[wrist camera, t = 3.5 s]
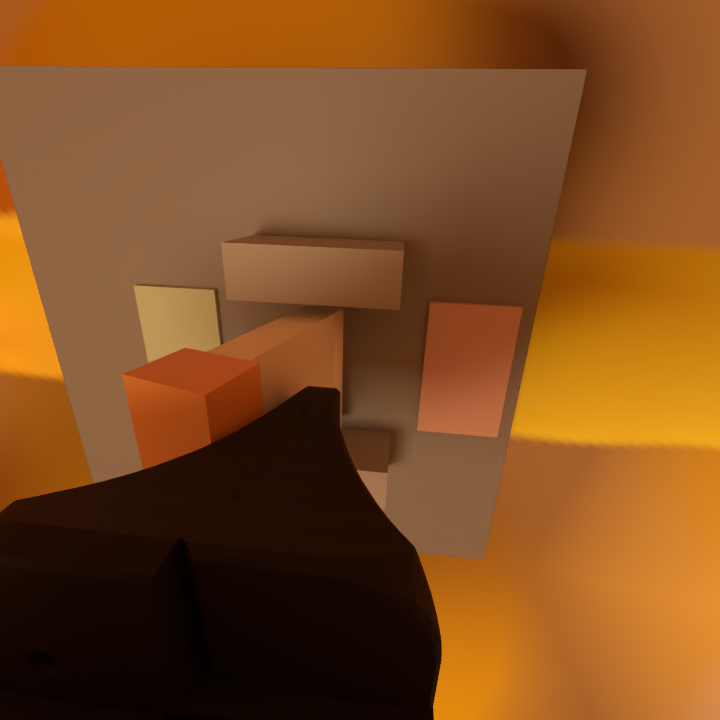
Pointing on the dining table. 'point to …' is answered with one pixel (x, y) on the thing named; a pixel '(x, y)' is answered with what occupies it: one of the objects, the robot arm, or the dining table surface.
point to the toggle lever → (232, 382)
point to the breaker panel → (293, 177)
